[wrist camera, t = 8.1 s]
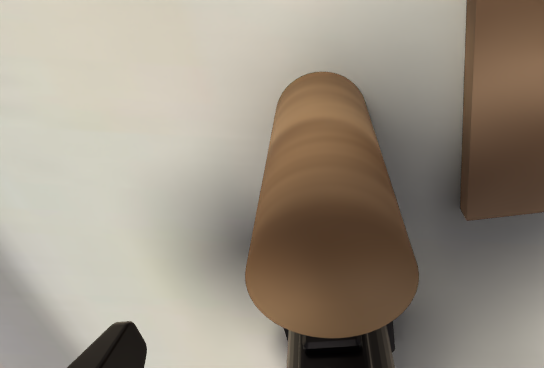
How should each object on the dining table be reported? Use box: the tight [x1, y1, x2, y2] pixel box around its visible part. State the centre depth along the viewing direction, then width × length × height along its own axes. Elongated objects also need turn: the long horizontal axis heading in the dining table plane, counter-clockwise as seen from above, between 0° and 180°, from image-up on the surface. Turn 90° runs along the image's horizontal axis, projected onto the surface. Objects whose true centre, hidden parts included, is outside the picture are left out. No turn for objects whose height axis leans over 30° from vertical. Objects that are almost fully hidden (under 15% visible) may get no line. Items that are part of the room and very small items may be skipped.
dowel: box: [245, 72, 419, 338], centre depth 14 cm, size 4×4×10 cm
